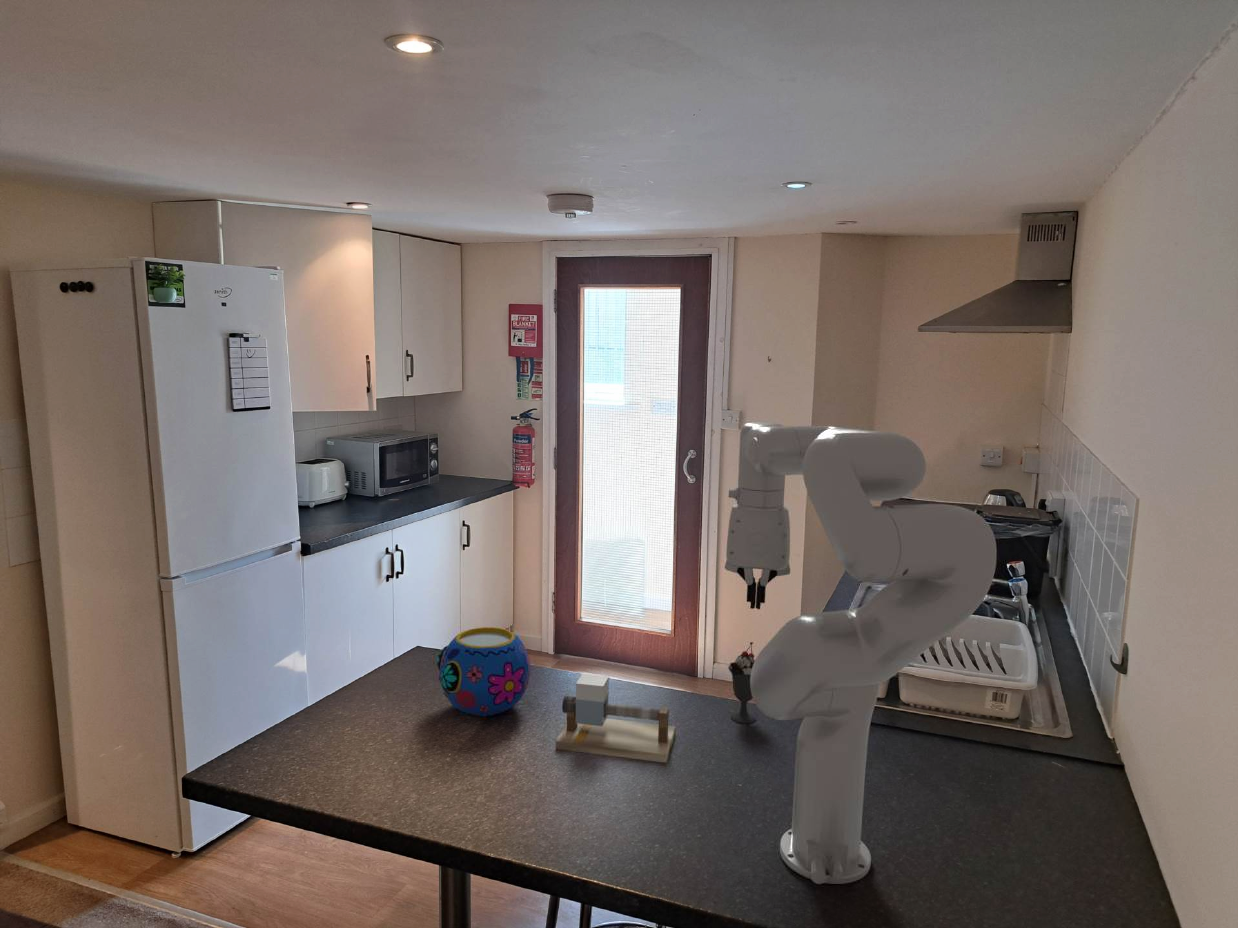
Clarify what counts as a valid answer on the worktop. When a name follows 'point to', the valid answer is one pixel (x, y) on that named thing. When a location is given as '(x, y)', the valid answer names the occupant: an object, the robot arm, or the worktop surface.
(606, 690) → the sleeve
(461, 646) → the ceramic pot
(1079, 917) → the worktop surface
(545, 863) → the worktop surface
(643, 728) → the board
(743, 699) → the sundae
